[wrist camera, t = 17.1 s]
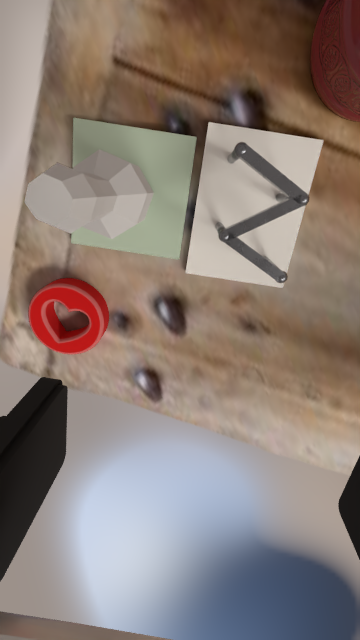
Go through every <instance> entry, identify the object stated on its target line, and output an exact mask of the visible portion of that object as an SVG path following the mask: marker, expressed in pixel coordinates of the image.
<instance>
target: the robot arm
mask: <svg viewBox="0 0 360 640" xmlns="http://www.w3.org/2000/svg"><path fill="white" fill-rule="evenodd" d="M66 427H67V386H64V385H62V381H61V380H58V379H52V378H46V377H42V378H40V379H39V380H38V382H37V383H36V384H35V385H34V386H33V387H32V388H31V389H30V390H29V392H28V393H27V394H26V395H25V396H24V397H23V398H22V399H21V401H20V402H19V403H18V404H17V405H16V406H15V407H14V408H13V409H12V411H11V412H10V413H9V414H8V415H7V416H2V417H0V581H1V580H2V578H3V576H4V575H5V573H6V571H7V569H8V567H9V565H10V563H11V561H12V560H13V558H14V556H15V554H16V552H17V550H18V548H19V546H20V544H21V542H22V541H23V539H24V537H25V535H26V533H27V531H28V529H29V527H30V525H31V523H32V522H33V520H34V518H35V516H36V513H37V512H38V510H39V508H40V506H41V505H42V503H43V501H44V499H45V497H46V495H47V493H48V491H49V489H50V487H51V485H52V484H53V482H54V480H55V478H56V476H57V474H58V472H59V470H60V468H61V467H62V465H63V462H64V459H65V455H66ZM339 512H340V514H341V517H342V519H343V522H344V524H345V526H346V529H347V531H348V533H349V536H350V538H351V541H352V543H353V545H354V547H355V550H356V552H357V555H358V557H359V559H360V456H359V458H358V461H357V463H356V465H355V467H354V469H353V471H352V473H351V476H350V478H349V480H348V482H347V484H346V486H345V489H344V491H343V493H342V495H341V497H340V499H339ZM0 640H171V639H165V638H160V637H154V636H148V635H142V634H136V633H131V632H125V631H119V630H113V629H107V628H102V627H96V626H89V625H84V624H78V623H72V622H66V621H60V620H53V619H46V618H40V617H33V616H27V615H20V614H13V613H7V612H0Z"/></svg>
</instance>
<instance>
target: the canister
mask: <svg viewBox="0 0 360 640" xmlns="http://www.w3.org/2000/svg"><path fill="white" fill-rule="evenodd" d="M310 68H311V75H312V80H313V83H314V86H315V89H316V91H317V93H318V95H319V97H320V99H321V100H322V101H323V103H324V104H325V105H326V106H327V107H328V108H329V109H330V110H331V111H332V112H333V113H335V114H336V115H338V116H340V117H342V118H344V119H347V120H351V121H357V122H360V0H326V1H325V3H324V5H323V7H322V10H321V12H320V15H319V17H318V20H317V23H316V27H315V30H314V34H313V38H312V43H311V52H310Z"/></svg>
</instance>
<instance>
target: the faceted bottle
mask: <svg viewBox="0 0 360 640" xmlns="http://www.w3.org/2000/svg"><path fill="white" fill-rule="evenodd" d="M153 194H154V192H153V191H152V189H151V187H150V185H149V183H148V182H147V180H146V178H145V176H144V174H143V173H142V171H141V169H140V167H139V166H137V165H134V164H132V163H130V162H128V161H125V160H123V159H121V158H119V157H116V156H114V155H112V154H109V153H107V152H105V151H102V150H100V149H99V150H98V151H96V152H95V153H93V154H92V155H90V156H89V157H87V158H86V159H84V160H83V161H82V162H80V163H79V164H77V165H76V166H74V167H73V169H71V168H69V167H67V166H65V165H62V164H60V163H56V164H55V165H53V166H52V167H51V168H49V169H48V170H46V171H45V172H43V173H42V174H41V175H39V176H38V177H36V178H35V179H34V180H32V181H31V182H30V183H28V188H27V193H26V198H25V204H26V205H27V207H28V208H29V209H30V211H31V212H32V214H33V215H34V217H35V218H36V219H37V220H39V221H42V222H44V223H46V224H49V225H51V226H53V227H56V228H58V229H61V230H63V231H66V232H68V233H70V234H71V233H73V232H74V231H76V230H77V229H79V228H80V227H82V226H83V227H84V228H86V229H89V230H91V231H93V232H96V233H98V234H101V235H103V236H105V237H108V238H110V239H113V238H115V237H116V236H118V235H120V234H122V233H123V232H125V231H126V230H128V229H130V228H131V227H133V226H135V225H136V224H138V223H140V222H141V221H143V220H145V217H146V214H147V211H148V208H149V205H150V203H151V200H152V197H153Z"/></svg>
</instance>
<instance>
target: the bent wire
mask: <svg viewBox="0 0 360 640" xmlns="http://www.w3.org/2000/svg"><path fill="white" fill-rule="evenodd" d="M239 158H240V159H241V160H242V161H243V162H245V163H246V164H247V165H248V166H250V167H251V168H252V169H253V170H255V171H256V172H257V173H258V174H260V175H261V176H262V177H263V178H265V179H266V180H267V181H268V182H269V183H271V184H272V185H273V186H274V187H276V188H277V189H278V190H279V191H281V192H282V193H278V194H277V195H276V200H277V201H278V202H280V203H278V204H276V205H273V206H271V207H269V208H267V209H265V210H263V211H261V212H259V213H257V214H254V215H252V216H250V217H248V218H246V219H244V220H242V221H240V222H237V223H235V224H233V225H231V226H229V227H227V228H225V226H224V225H223V224H222V223H221V222H218V223H216V225H215V228H216V230H217V232H218V237H219V239H220V241H222V242H224V243H226V244H227V245H228V246H230V247H231V248H233V249H234V250H235V251H237V252H238V253H239V254H241V255H242V256H243V257H245V258H246V259H247V260H249V261H250V262H252V263H253V264H254V265H256V266H257V267H258V268H260V269H261V270H262V271H264V272H265V273H266V274H268V275H269V276H271V277H272V278H273V279H275V281H276V282H278V283H284V282H285V281H286V280H287V278H288V276H287V273H286V272H285V271H282V270H280V269H279V268H278V267H277V266H276V265H275V264H274V263H273V262H272V261H271V260H270V259H269V258H268V257H266V256H262V255H260V254H259V253H258V252H256V251H255V250H254V249H252V248H251V247H250V246H248V245H247V244H246V243H244V242H243V241H242V240H240V239H239V238H238V236H240V235H242V234H244V233H246V232H248V231H251V230H253V229H255V228H257V227H259V226H261V225H264V224H266V223H268V222H270V221H272V220H274V219H276V218H279V217H281V216H283V215H285V214H287V213H289V212H292V211H294V210H296V209H298V208H300V207H302V206H305V205H306V204H307V203H308V202H309V195H308V194H307V193H306V192H304V191H303V190H302V189H301V188H299V187H298V186H297V185H296V184H295V183H293V182H292V181H291V180H290V179H288V178H287V177H286V176H285V175H284V174H282V173H281V172H280V171H279V170H277V169H276V168H275V167H274V166H273V165H271V164H270V163H269V162H268V161H266V160H265V159H264V158H263V157H262V156H260V155H259V154H258V153H257V152H255V151H254V150H253V149H252V148H251V147H249V146H248V145H247V144H246V143H245V142H239V143H238V144H237V145H236V146H235V148H234V150H233V151H232V153H231V154H230V155H229V156H228V158H227V160H228V162H229V163H234V162H235V161H237V160H238V159H239Z"/></svg>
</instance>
